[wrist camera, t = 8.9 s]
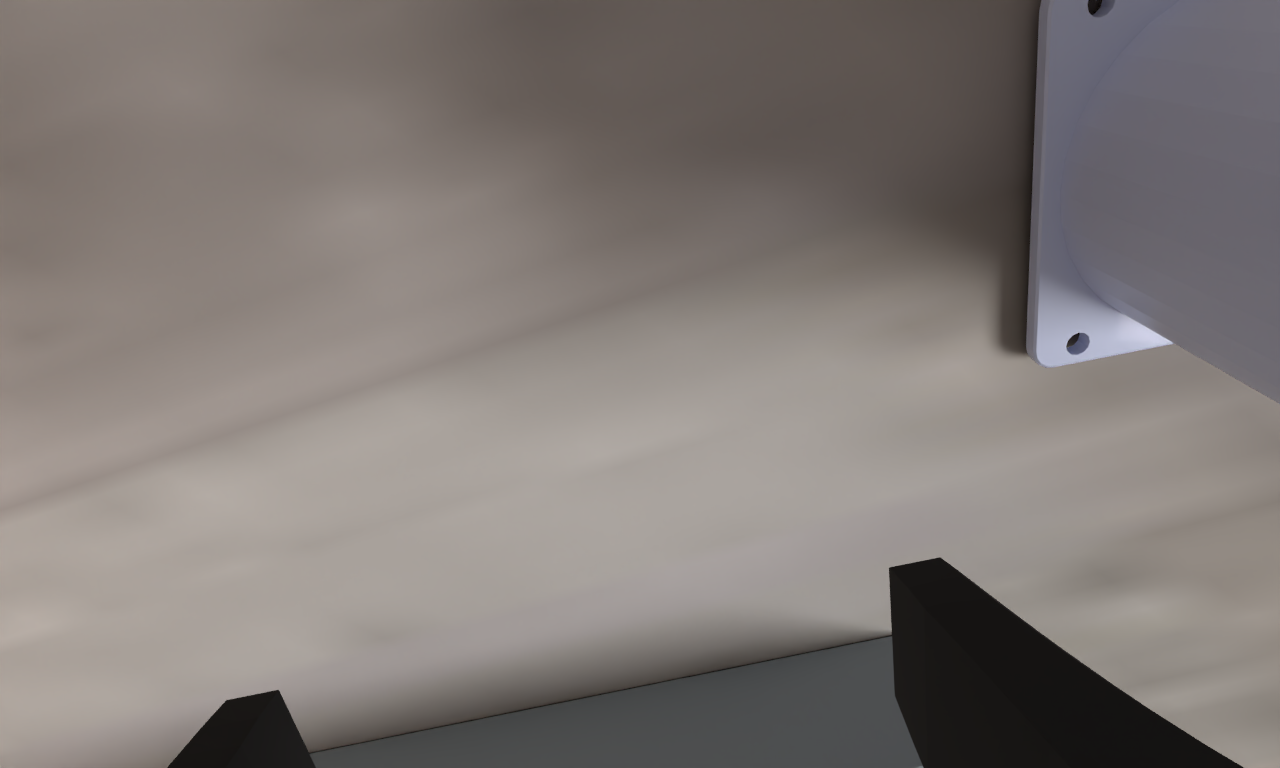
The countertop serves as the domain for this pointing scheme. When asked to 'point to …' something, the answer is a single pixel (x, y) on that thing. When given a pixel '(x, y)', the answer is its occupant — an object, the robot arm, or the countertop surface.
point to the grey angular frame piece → (685, 723)
